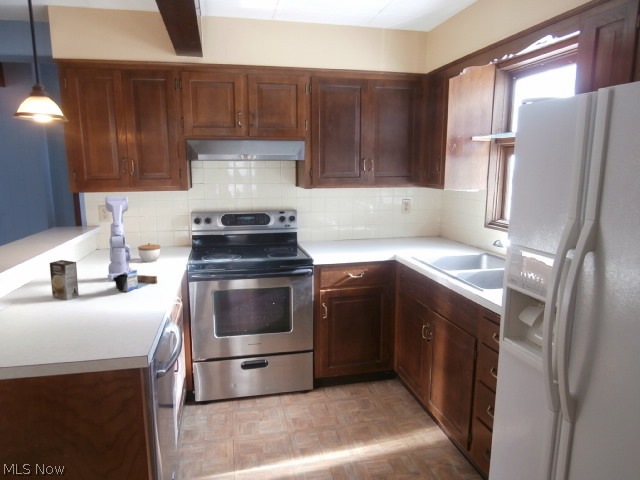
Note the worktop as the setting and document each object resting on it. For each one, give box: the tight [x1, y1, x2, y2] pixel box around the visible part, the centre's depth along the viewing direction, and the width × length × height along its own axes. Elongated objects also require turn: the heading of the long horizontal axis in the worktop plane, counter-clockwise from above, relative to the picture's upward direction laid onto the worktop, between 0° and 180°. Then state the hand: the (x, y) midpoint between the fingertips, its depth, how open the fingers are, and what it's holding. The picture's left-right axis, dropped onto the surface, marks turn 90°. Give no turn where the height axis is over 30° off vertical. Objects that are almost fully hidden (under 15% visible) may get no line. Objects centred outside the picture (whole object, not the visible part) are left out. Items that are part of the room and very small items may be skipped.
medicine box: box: [123, 269, 138, 292], centre depth 204 cm, size 8×4×9 cm, turn 169°
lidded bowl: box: [137, 242, 161, 263], centre depth 264 cm, size 13×13×11 cm
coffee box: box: [49, 259, 80, 301], centre depth 191 cm, size 9×6×16 cm
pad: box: [135, 282, 151, 290], centre depth 212 cm, size 7×11×1 cm, turn 170°
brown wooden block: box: [115, 274, 158, 290], centre depth 211 cm, size 13×14×4 cm
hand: (121, 290), depth 199 cm, fingers closed
